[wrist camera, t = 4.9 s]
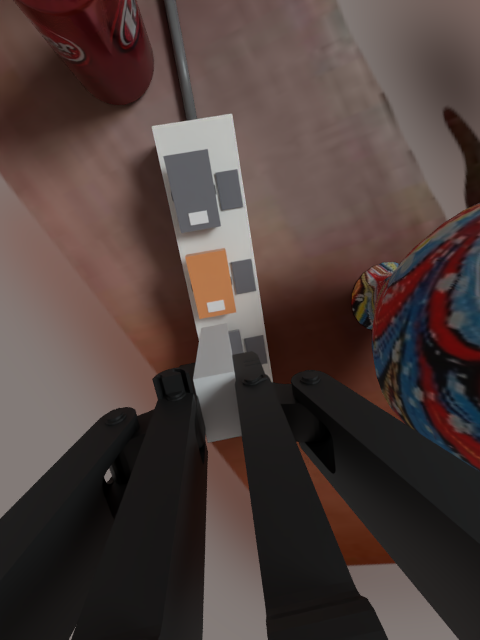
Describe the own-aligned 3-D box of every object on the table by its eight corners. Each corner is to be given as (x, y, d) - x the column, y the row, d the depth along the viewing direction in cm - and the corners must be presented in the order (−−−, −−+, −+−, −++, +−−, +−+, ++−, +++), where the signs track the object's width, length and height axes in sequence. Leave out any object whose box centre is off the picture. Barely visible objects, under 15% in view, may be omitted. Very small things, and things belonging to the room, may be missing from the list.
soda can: (99, 120, 27) (13, 27, 16) (57, 33, 25) (-76, -148, 14) (168, 90, 27) (134, -27, 15) (132, 0, 25) (61, -211, 13)
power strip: (127, -9, 25) (108, -65, 20) (205, -20, 25) (203, -77, 21) (214, 392, 35) (214, 412, 31) (268, 381, 36) (276, 400, 31)
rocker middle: (184, 254, 26) (183, 257, 25) (225, 247, 26) (226, 249, 25) (198, 314, 28) (198, 319, 27) (236, 307, 28) (237, 312, 27)
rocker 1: (164, 158, 24) (161, 156, 22) (208, 150, 24) (208, 148, 23) (180, 231, 26) (179, 233, 25) (221, 224, 26) (222, 226, 25)
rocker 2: (203, 335, 29) (202, 337, 28) (239, 328, 29) (240, 330, 28) (214, 391, 29) (213, 396, 28) (250, 384, 30) (251, 388, 28)
